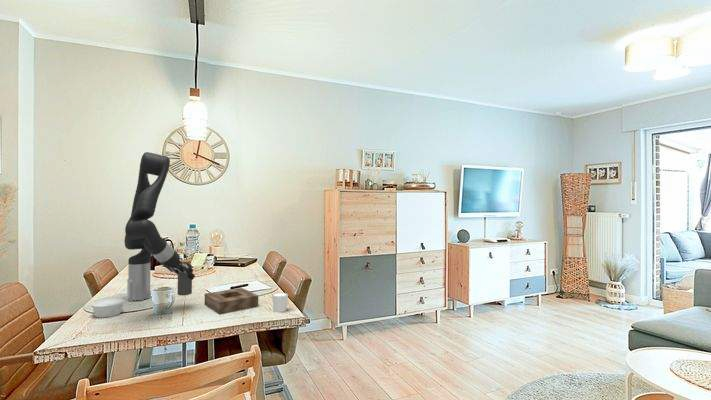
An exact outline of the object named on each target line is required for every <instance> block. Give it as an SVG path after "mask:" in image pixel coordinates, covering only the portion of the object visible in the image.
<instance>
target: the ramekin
mask: <svg viewBox="0 0 711 400" xmlns="http://www.w3.org/2000/svg"><path fill="white" fill-rule="evenodd" d="M124 303H125V300H124V299H123V298H107V299H106V298H105V299H100V300H97V301H95V302H93V303H92V304H91V307H92V310H93V314H94V317H96V318H99V319H100V318H103V319H105V318H111V317H115V316H118V315H120V314H121V313H122V312H123V307H124Z"/></svg>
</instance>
